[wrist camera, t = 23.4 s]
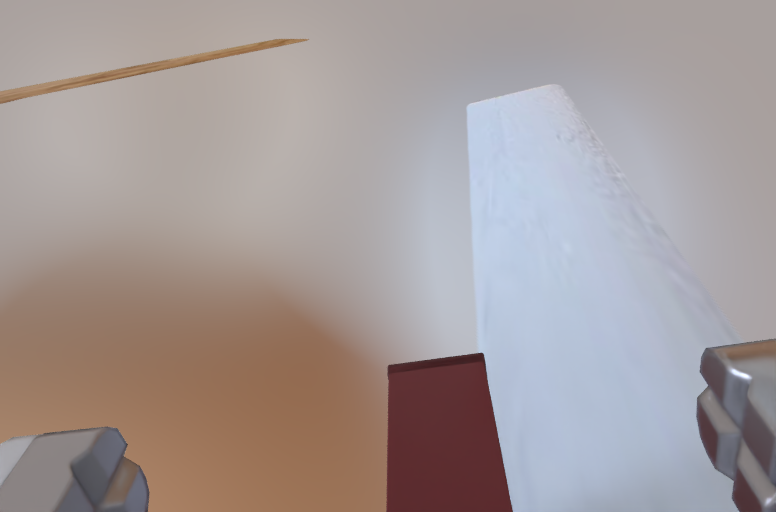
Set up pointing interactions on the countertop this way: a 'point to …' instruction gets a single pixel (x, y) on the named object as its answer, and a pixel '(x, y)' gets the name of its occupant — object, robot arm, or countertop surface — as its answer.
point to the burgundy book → (443, 438)
